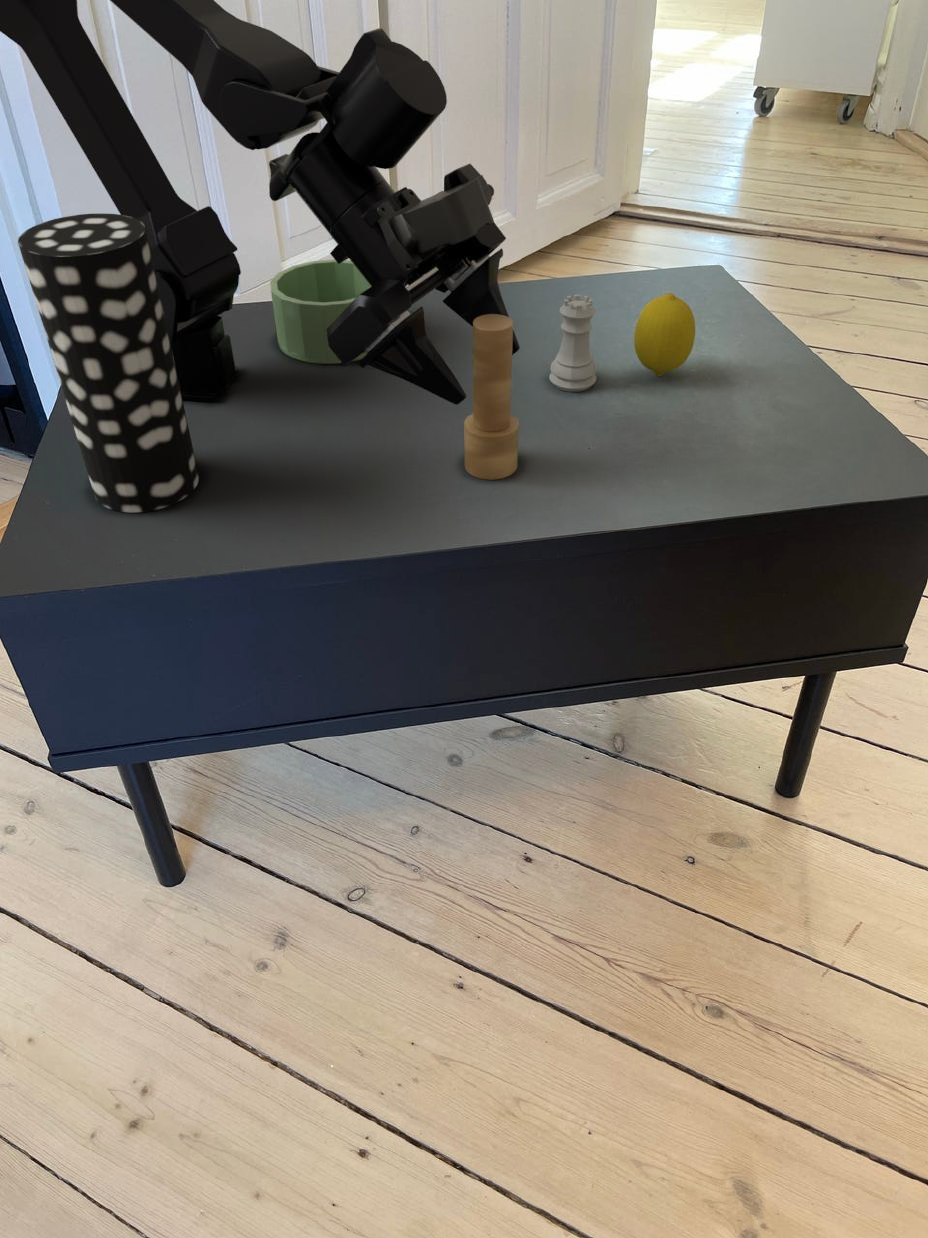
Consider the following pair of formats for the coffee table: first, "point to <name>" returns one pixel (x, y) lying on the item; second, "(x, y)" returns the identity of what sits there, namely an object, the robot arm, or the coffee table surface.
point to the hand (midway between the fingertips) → (489, 375)
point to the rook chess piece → (574, 347)
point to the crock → (313, 306)
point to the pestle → (491, 402)
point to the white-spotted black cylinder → (113, 357)
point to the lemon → (664, 334)
